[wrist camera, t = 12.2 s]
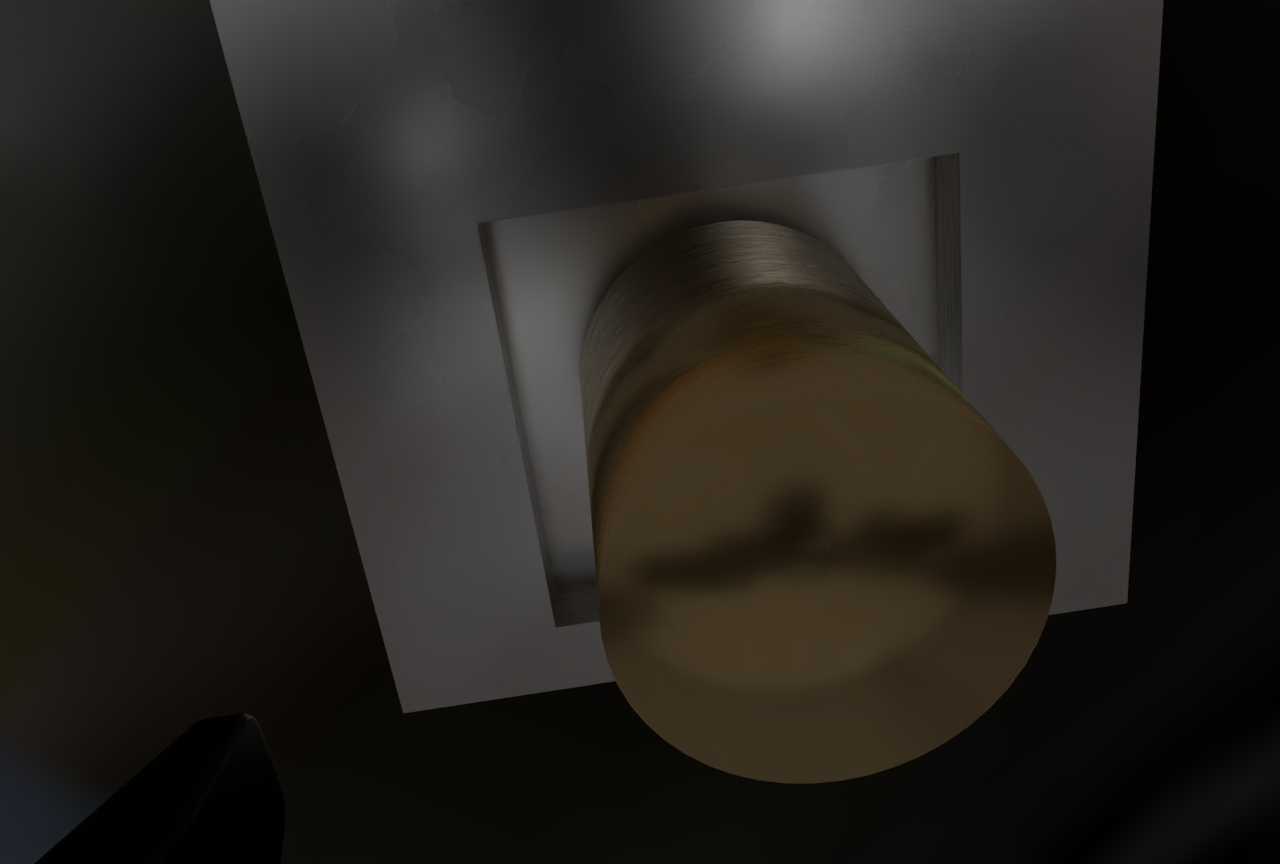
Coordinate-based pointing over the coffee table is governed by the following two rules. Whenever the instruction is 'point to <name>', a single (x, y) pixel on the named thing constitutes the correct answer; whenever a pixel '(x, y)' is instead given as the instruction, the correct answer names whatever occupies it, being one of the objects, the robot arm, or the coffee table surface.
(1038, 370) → the pallet plate
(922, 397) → the billet
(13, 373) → the coffee table surface
